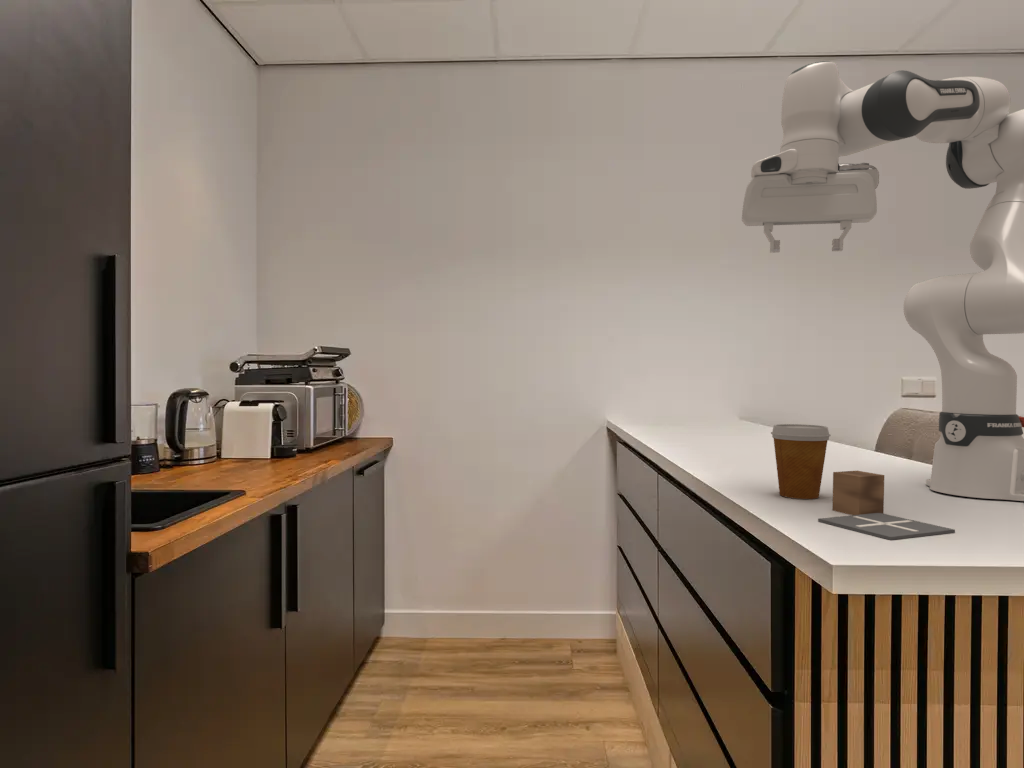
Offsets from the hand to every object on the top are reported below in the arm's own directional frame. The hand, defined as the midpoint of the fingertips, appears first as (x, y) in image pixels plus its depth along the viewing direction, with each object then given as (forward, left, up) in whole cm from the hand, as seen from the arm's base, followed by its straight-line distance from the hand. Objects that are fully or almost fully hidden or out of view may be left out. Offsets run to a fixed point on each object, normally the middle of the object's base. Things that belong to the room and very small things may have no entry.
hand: (805, 251), depth 118 cm
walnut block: (-2, +9, -41) cm, 42 cm away
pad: (+3, +18, -41) cm, 45 cm away
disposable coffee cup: (-4, -5, -41) cm, 41 cm away
